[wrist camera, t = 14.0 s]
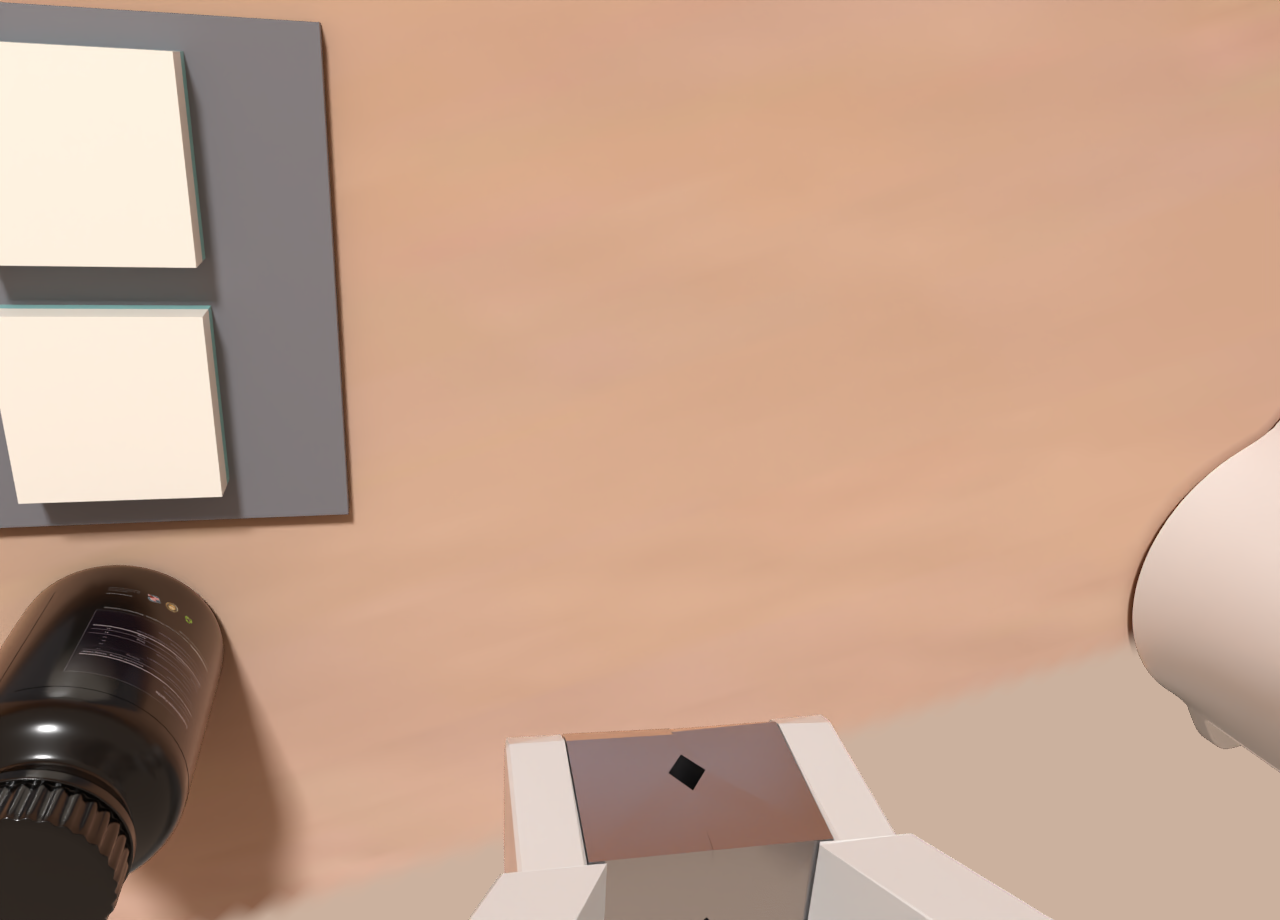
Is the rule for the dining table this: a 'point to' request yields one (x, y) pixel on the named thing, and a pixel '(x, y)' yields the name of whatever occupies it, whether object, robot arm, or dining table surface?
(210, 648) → the supplement bottle
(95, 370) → the tile
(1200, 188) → the dining table surface
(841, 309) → the dining table surface
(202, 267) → the mat
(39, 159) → the tile
